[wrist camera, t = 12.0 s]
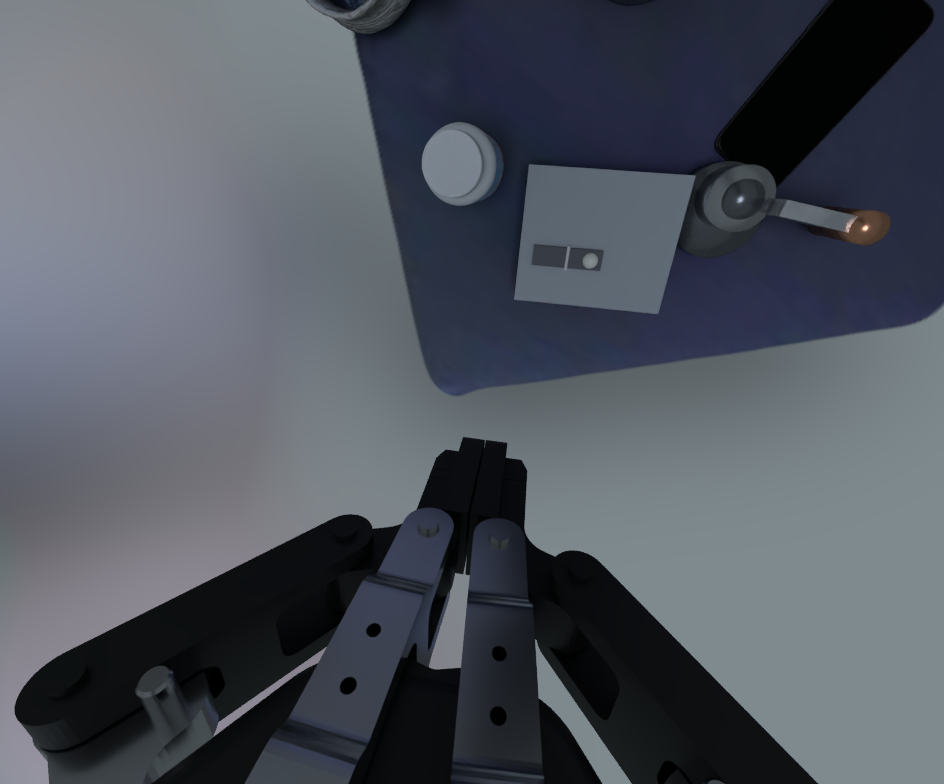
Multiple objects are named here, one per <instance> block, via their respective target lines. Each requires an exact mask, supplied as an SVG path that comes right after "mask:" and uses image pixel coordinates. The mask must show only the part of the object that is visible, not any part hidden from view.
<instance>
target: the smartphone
mask: <svg viewBox="0 0 944 784" xmlns="http://www.w3.org/2000/svg"><path fill="white" fill-rule="evenodd" d="M933 19H934V11H933V9H932V7H931V6H930V5H929V4H928V3H927V2H926V1H925V0H829V2H828V3H827V4H826V5H825V6H824V8H823V9H822V10H821V12H820V13H819V14H818V15H817V16H816V17H815V18H814V20H813V21H812V22H811V23H810V24H809V26H808V27H807V28H806V30H805V31H804V32H803V33H802V35H801V36H800V37H799V38H798V39H797V41H796V42H795V43H794V44H793V45H792V47H791V48H790V49H789V50H788V51H787V53H786V54H785V55H784V56H783V57H782V59H781V60H780V61H779V62H778V63H777V65H776V66H775V67H774V68H773V69H772V71H771V72H770V73H769V74H768V76H767V77H766V78H765V79H764V80H763V82H762V83H761V84H760V85H759V86H758V88H757V89H756V90H755V91H754V92H753V94H752V95H751V96H750V97H749V98H748V100H747V101H746V102H745V103H744V104H743V106H742V107H741V108H740V109H739V110H738V112H737V113H736V114H735V115H734V116H733V118H732V119H731V120H730V121H729V122H728V124H727V125H726V126H725V127H724V128H723V130H722V131H721V132H720V133H719V135H718V136H717V138H716V140H715V143H714V147H715V150H716V152H717V153H718V154H719V155H720V156H722V157H723V158H724V159H726V160H727V161H735V162H741V163H744V164H747V165H758V166H761V167H763V168H765V169H767V170H768V171H769V172H770V173H771V174H772V176H773V178H774V180H775V184H776V188H777V187H778V186H779V185H780V184H781V183H782V182H783V181H784V180H785V179H786V178H787V177H788V176H789V175H790V174H791V173H792V172H793V171H794V170H795V168H796V167H797V166H798V165H799V164H800V163H801V162H802V161H803V160H804V159H805V158H806V157H807V156H808V155H809V154H810V153H811V152H812V151H813V150H814V149H815V147H816V146H817V145H818V144H819V143H820V142H821V141H822V140H823V139H824V138H825V137H826V136H827V135H828V134H829V133H830V132H831V131H832V130H833V129H834V128H835V126H836V125H837V124H838V123H839V122H840V121H841V120H842V119H843V118H844V117H845V116H846V115H847V114H848V113H849V112H850V111H851V110H852V109H853V108H854V106H855V105H856V104H857V103H858V102H859V101H860V100H861V99H862V98H863V97H864V96H865V95H866V94H867V93H868V92H869V91H870V90H871V89H872V88H873V87H874V86H875V85H876V84H877V83H878V82H879V81H880V80H881V79H882V78H883V76H884V75H885V74H886V73H887V72H888V71H889V70H890V69H891V68H892V67H893V66H894V64H895V63H896V62H897V61H898V60H899V59H900V58H901V57H902V56H903V55H904V54H905V53H906V52H907V51H908V50H909V49H910V48H911V47H912V46H913V45H914V43H915V42H916V41H917V40H918V39H919V38H920V37H921V36H922V35H923V34H924V33H925V32H926V31H927V29H928V28H929V27H930V25H931V24H932V22H933Z"/></svg>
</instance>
